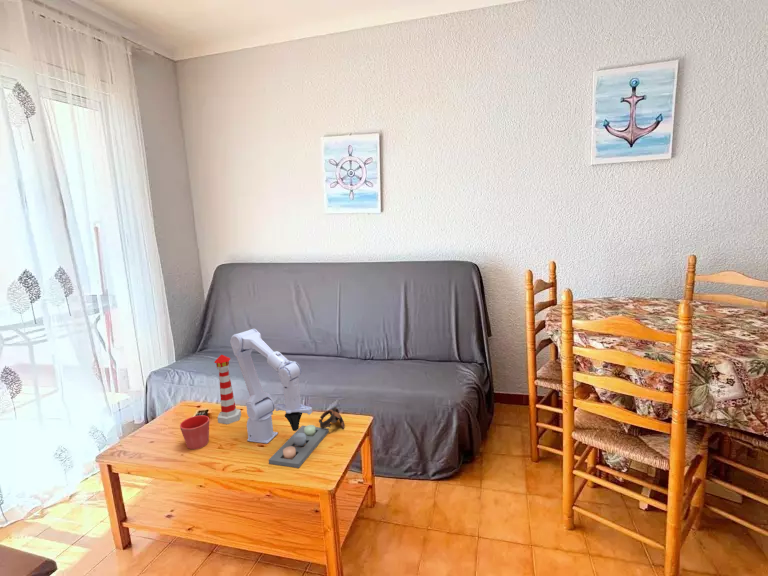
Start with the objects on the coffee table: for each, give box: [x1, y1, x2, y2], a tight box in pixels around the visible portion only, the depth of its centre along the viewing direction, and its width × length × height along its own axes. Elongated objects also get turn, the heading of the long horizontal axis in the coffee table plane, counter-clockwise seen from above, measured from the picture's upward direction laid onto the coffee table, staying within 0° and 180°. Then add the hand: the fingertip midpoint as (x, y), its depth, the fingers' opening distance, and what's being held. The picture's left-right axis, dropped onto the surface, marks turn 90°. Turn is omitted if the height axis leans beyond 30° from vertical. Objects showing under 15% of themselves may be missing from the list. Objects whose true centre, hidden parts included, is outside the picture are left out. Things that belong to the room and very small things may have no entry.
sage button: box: [304, 424, 316, 436], centre depth 166 cm, size 4×4×3 cm
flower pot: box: [179, 414, 210, 450], centre depth 164 cm, size 11×11×10 cm
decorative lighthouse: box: [213, 354, 242, 425], centre depth 182 cm, size 10×9×30 cm
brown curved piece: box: [318, 407, 345, 430], centre depth 173 cm, size 12×10×8 cm
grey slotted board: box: [268, 425, 330, 469], centre depth 158 cm, size 12×25×2 cm, turn 163°
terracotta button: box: [283, 446, 296, 460], centre depth 151 cm, size 4×4×3 cm
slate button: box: [294, 433, 306, 447], centre depth 158 cm, size 4×4×3 cm
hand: (295, 429), depth 155 cm, fingers closed
